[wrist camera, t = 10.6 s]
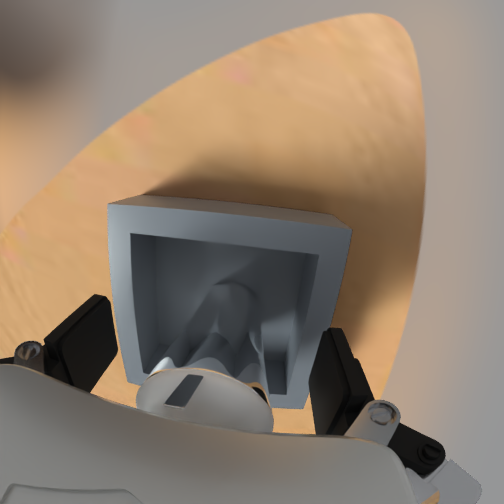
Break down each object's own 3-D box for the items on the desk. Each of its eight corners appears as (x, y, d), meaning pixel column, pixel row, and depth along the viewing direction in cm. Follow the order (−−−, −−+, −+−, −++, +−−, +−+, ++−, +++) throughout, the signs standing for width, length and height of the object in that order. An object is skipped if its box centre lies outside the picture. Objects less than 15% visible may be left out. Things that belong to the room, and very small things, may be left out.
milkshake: (275, 257, 14) (287, 417, 5) (268, 342, 16) (266, 500, 6) (188, 252, 14) (82, 383, 5) (193, 336, 16) (137, 480, 6)
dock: (298, 370, 17) (303, 409, 14) (147, 348, 17) (127, 382, 14) (332, 214, 14) (352, 229, 10) (141, 194, 14) (107, 203, 11)
